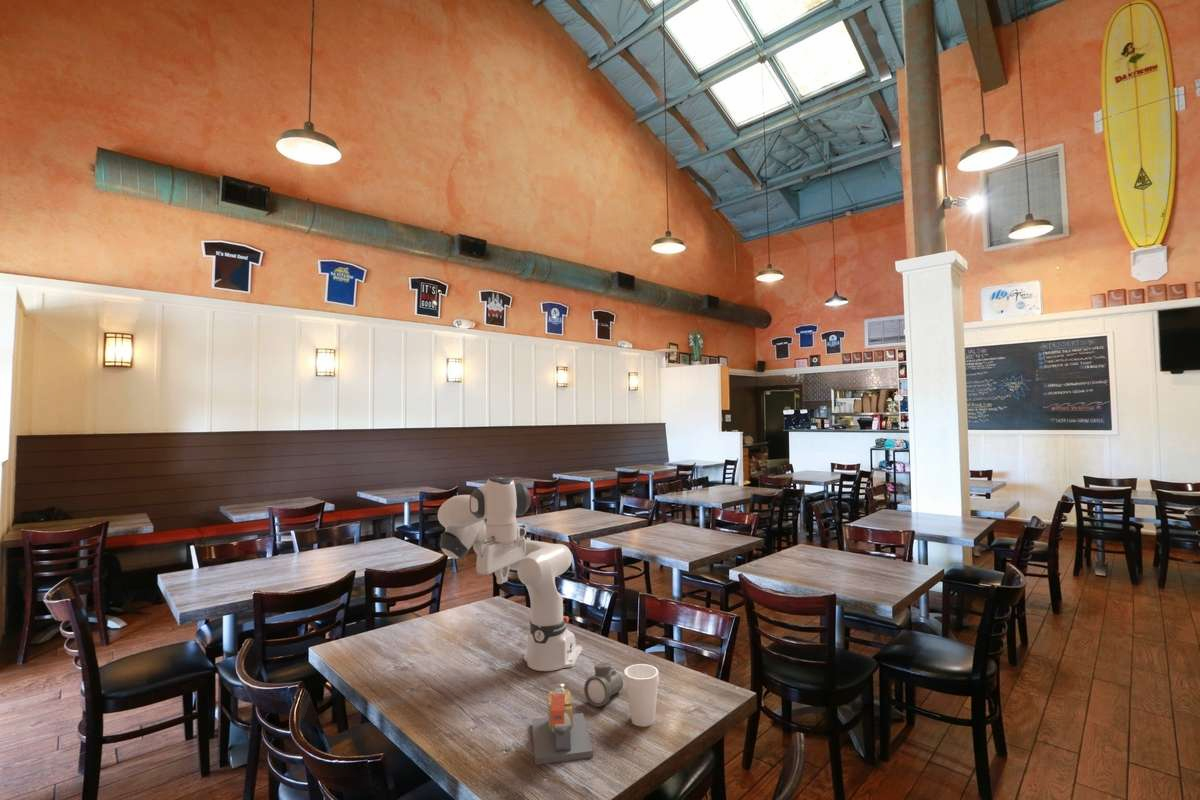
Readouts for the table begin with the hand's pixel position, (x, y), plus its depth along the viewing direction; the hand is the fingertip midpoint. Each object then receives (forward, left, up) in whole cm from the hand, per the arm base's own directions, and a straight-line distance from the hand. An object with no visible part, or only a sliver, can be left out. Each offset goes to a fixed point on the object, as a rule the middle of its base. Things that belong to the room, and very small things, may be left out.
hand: (502, 582), depth 154 cm
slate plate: (+5, +20, -37) cm, 42 cm away
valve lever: (+12, +23, -25) cm, 36 cm away
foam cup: (-11, +37, -37) cm, 54 cm away
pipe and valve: (+5, +20, -35) cm, 41 cm away
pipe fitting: (-19, +23, -37) cm, 48 cm away
